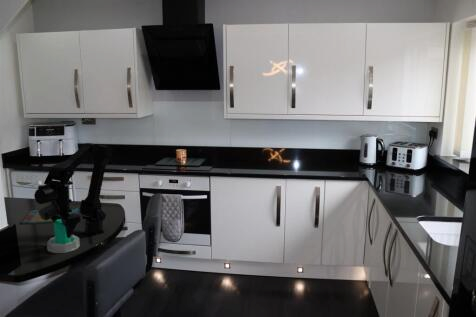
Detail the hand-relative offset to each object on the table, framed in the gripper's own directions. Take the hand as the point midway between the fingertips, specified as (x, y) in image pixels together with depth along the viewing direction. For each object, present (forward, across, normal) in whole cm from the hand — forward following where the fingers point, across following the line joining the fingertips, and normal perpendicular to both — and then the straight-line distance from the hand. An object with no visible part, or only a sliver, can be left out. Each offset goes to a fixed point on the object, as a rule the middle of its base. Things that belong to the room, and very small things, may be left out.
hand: (63, 234), depth 159 cm
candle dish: (+5, 0, 0) cm, 5 cm away
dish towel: (+6, -38, +13) cm, 41 cm away
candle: (+5, 0, 0) cm, 5 cm away
